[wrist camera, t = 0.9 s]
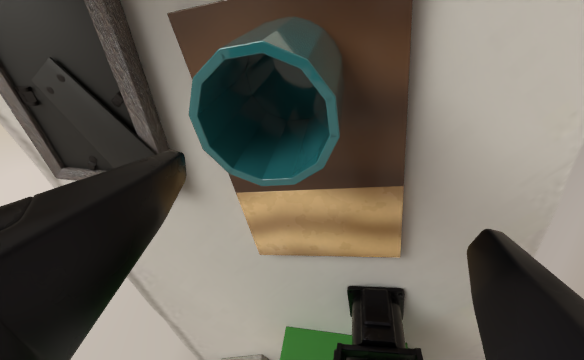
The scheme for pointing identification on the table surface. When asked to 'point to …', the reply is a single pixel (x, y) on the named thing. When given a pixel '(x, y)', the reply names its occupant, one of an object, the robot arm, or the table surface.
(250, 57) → the teal cup
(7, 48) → the picture frame
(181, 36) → the serving board
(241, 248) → the table surface
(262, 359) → the tall white box
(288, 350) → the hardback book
